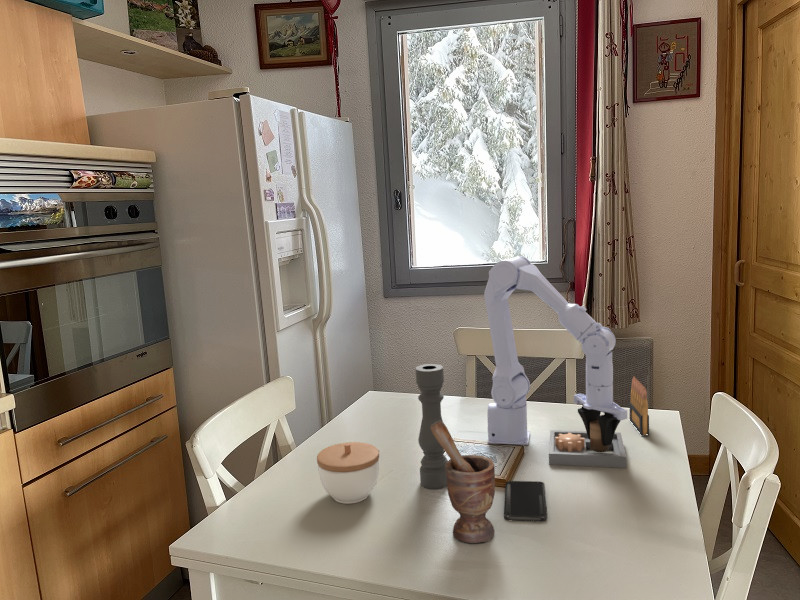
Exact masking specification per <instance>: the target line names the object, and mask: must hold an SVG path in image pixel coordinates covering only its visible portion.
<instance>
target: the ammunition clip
mask: <svg viewBox="0 0 800 600" xmlns="http://www.w3.org/2000/svg"><path fill="white" fill-rule="evenodd" d="M649 415H650V414H649V404H648V392H647V389H646V387H645V386H644V384H642V382H640V381H639V380H638V379H637V378H636V377H635V375H633V377H632V379H631V390H630V401H629V418H628V419H630V421H631V422H632V423H633V425H634V426H635V427H636V428H637V430H638V431H639V432H640V434H641V435H646V434H648V435H649V436H650V416H649ZM630 421H629V422H630ZM631 422H630V423H631ZM633 425H632V426H633ZM634 426H633V427H634ZM637 430H636V431H637ZM640 434H639V435H640Z"/></svg>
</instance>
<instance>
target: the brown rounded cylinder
mask: <svg viewBox="0 0 800 600" xmlns="http://www.w3.org/2000/svg"><path fill="white" fill-rule="evenodd" d="M589 450H591V451H592V452H594V453H608V451H610V449H609V445H608V446H603V445H602V439H601V429H600V425H599V422H598V420H594V421H591V422H590V448H589Z"/></svg>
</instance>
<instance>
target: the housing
mask: <svg viewBox="0 0 800 600" xmlns="http://www.w3.org/2000/svg"><path fill="white" fill-rule="evenodd" d="M549 431H550V432H549V445H548V465H554V466H557V465H558V466H559V465H560V466H575V467H576V466H577V467H578V466H579V467H596V468H597V467H599V468H600V467H601V468H616V469H617V468H620V469H626V468H627V455H626V451H625V445H624V440H623V437H622V432H616V431H615V433H614V437H613V440H612V444H611V445H609V450H612V451H613V453H611V452H594V451H592V452H590V451H587V449H590V439H588V435H587V432H586V430H585V431H584V430H583V431H582V430H580V431H579V430H578V431H577V430H554V429H552V430H549Z"/></svg>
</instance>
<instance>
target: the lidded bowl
mask: <svg viewBox="0 0 800 600" xmlns="http://www.w3.org/2000/svg"><path fill="white" fill-rule="evenodd" d="M316 463H317V468H318V476H319V480H320V483H321V485H322V488H323V489H324V491H325V493H327V494H328V495H329V496H330V497H331V498H333V500H334V501H335V502H337V503H338V504H343V505H352V504H357V503H361V502H363V501H365V500H367V498H368V497H369V496H370V493H372V492H373V490H374V489H375V487H376V485H377V483H378V480H379V475H380V450H379V449H378V447H377V446H375V445H373V444H370V443H367V442H360V441H352V442H351V441H349V442H341V443H337V444H333V445H332V444H331V445H329V446H327V447H325V448H323V449H321V450H320V451H319V452H318V453H317V455H316Z"/></svg>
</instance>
